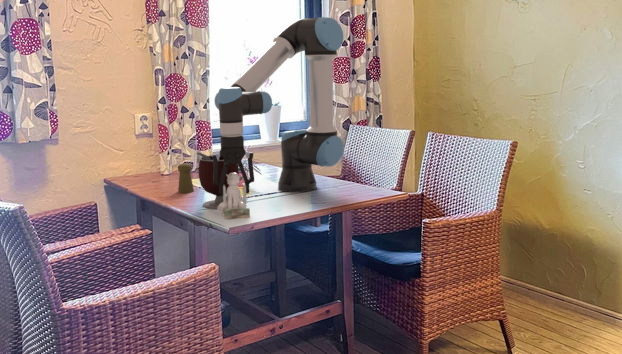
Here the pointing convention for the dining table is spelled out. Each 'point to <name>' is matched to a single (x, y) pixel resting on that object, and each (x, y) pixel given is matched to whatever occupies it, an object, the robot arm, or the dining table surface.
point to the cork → (185, 178)
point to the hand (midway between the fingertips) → (234, 203)
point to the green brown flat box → (236, 213)
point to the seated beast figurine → (232, 194)
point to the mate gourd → (207, 178)
